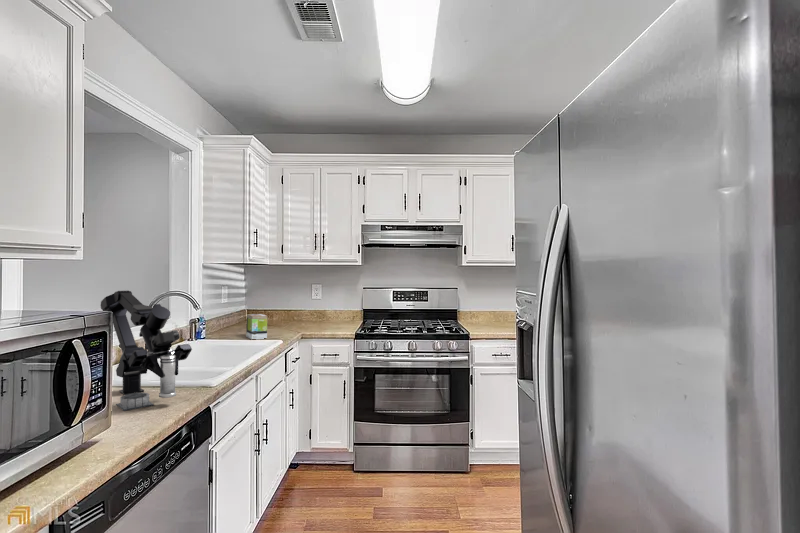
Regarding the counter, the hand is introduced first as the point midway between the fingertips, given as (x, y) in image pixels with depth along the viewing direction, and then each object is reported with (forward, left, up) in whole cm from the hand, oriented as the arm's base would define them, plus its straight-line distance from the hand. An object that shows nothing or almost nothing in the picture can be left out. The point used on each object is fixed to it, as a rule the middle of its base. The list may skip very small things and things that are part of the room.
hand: (169, 375), depth 155 cm
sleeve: (-8, -8, -10) cm, 15 cm away
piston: (-1, 0, -7) cm, 7 cm away
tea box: (-117, +92, -10) cm, 150 cm away
